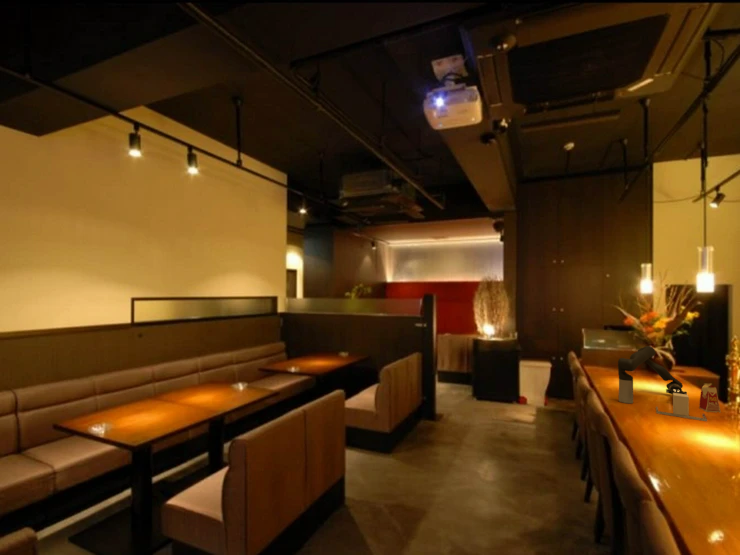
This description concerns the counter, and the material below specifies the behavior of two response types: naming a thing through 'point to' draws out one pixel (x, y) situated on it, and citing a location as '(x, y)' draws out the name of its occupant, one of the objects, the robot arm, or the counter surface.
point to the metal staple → (681, 415)
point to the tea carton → (680, 404)
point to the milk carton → (709, 399)
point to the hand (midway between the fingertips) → (677, 394)
